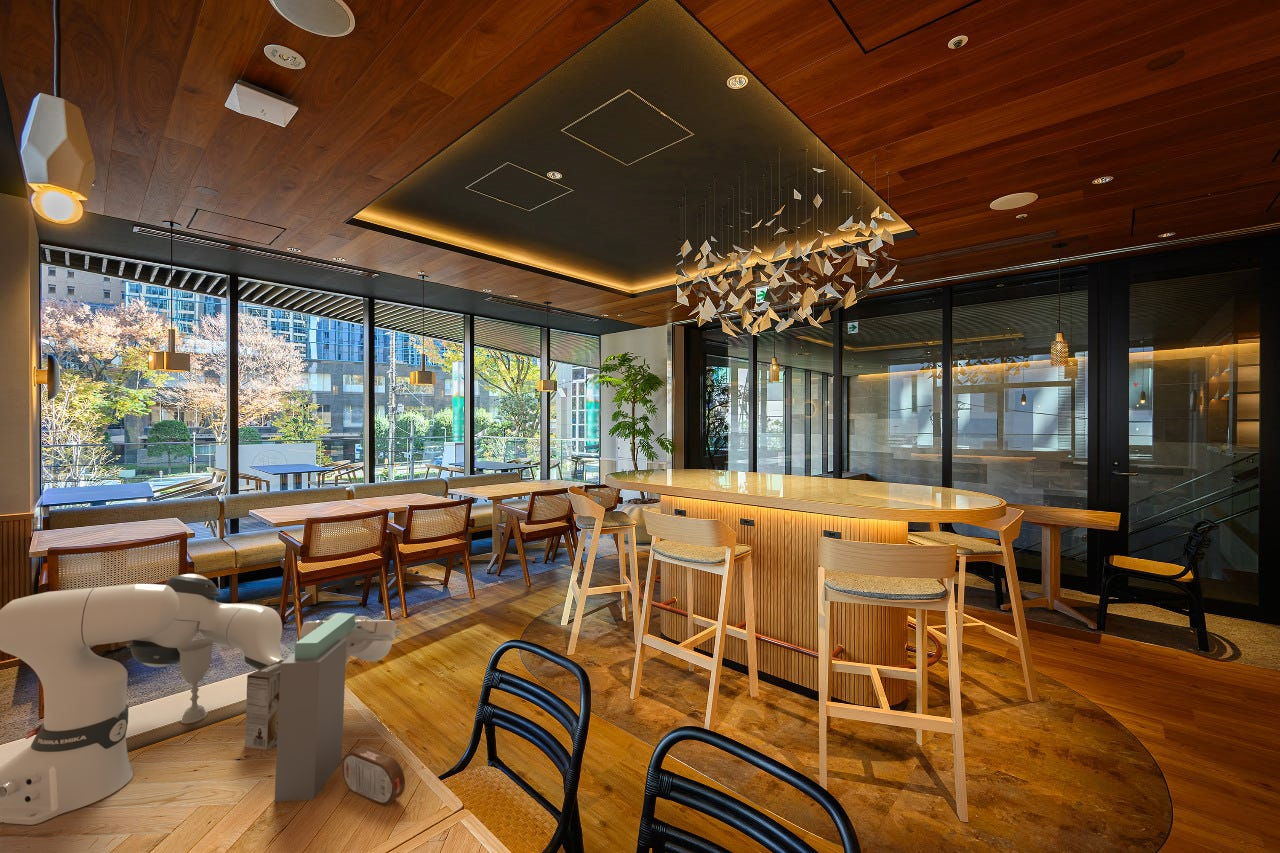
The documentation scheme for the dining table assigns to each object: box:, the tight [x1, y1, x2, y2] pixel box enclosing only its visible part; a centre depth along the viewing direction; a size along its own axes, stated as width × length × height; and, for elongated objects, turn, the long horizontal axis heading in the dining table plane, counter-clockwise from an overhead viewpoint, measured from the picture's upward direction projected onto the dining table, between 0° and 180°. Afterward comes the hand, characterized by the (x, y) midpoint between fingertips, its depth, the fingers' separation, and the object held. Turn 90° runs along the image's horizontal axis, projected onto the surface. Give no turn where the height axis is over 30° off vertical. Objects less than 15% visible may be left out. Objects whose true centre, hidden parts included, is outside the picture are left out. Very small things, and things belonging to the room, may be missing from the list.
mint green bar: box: [294, 613, 356, 659], centre depth 111 cm, size 4×18×3 cm, turn 7°
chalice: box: [177, 638, 215, 724], centre depth 128 cm, size 7×7×18 cm
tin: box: [342, 744, 406, 806], centre depth 101 cm, size 15×3×8 cm, turn 65°
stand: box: [273, 639, 347, 803], centre depth 106 cm, size 7×12×26 cm, turn 7°
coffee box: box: [244, 659, 286, 751], centre depth 120 cm, size 9×6×16 cm
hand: (338, 624), depth 116 cm, fingers open, 8 cm apart
